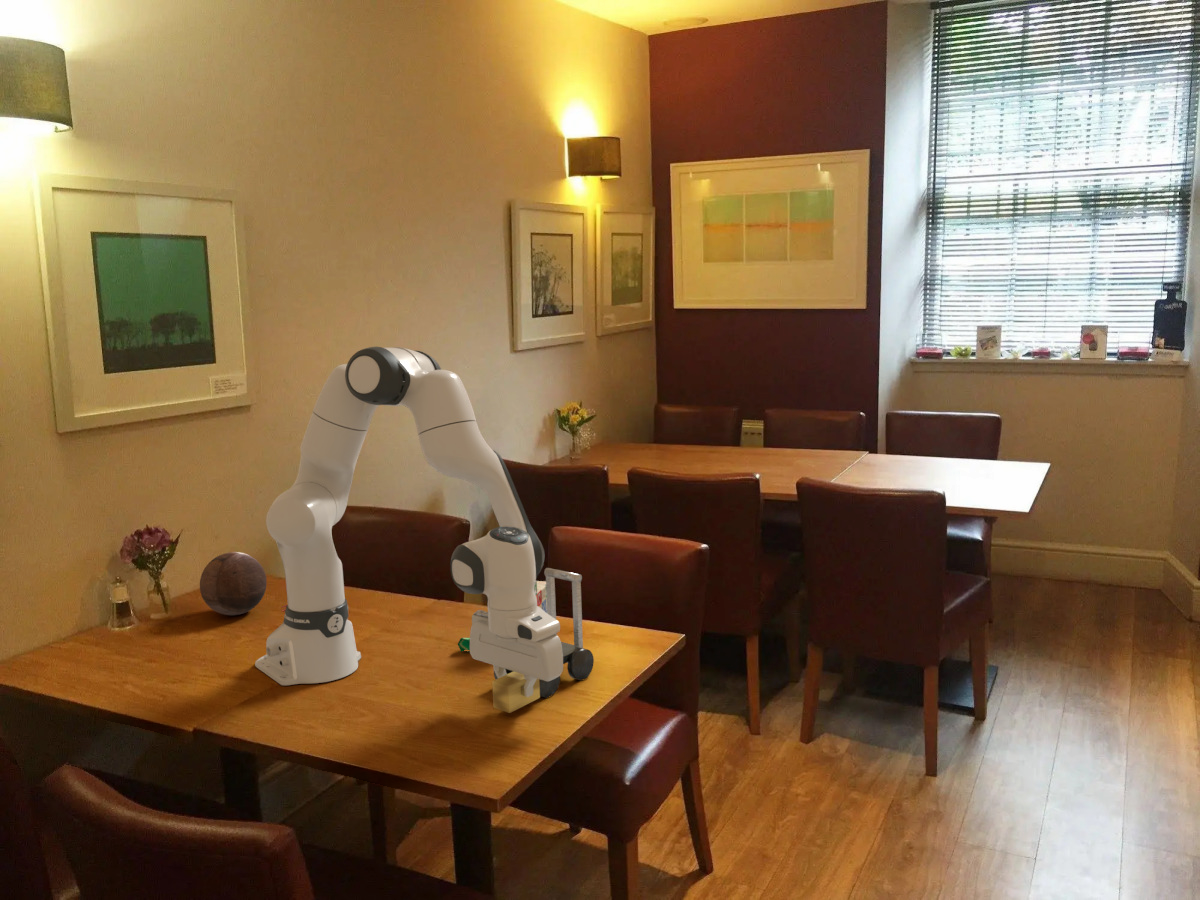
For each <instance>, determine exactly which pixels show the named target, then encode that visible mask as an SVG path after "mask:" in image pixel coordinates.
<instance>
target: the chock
mask: <svg viewBox="0 0 1200 900" xmlns="http://www.w3.org/2000/svg"><path fill="white" fill-rule="evenodd" d="M526 681H527V680H525V679H524V674H521V673H518V672H515V671H513V672H511V673H509V674H507V675H505V676H502V677H500V678H498V679H496V680H495V679H494V680H492V681H491V686H492V701H493V703H492V704H493V705H492V706H493V708H494V709H496V710H499V711H502V712H505V713H508V714H511V713H512V712H513V713H514V712H515V711H517V710H519V709H521V708H523V707H525V706H527V705H528V704H530V703H533V702H534V701H536V700H538V699H540V698H541V696H540V685H539V679H538V678H537V680H536V682H535V684H534V685H533V695H531V696H529V697H526V696H523V695H521V686H523V685H525V683H526Z"/></svg>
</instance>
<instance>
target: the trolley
mask: <svg viewBox="0 0 1200 900" xmlns="http://www.w3.org/2000/svg"><path fill="white" fill-rule="evenodd" d="M543 574H544V576H545V581H546V594H547V614H549V615H550V616H552V617H553V618H555V619H556V620H557V612H556V609H557V608H556V587H555V586H556V585H555V584H556V583H555V579H560V580H564V581H568V582H571V590H572V592H571V595H572V621H573V644H571V643H568V642H564V641H561V645H562V653H563V665H565V664H567V673H568V675H569V676H570V677H571V678H572V679H574V680H578V681H584V680H586V679H587V678H588V677H589V676H590V674H591V673H592V671H593V667H594V662H595V659H594V655H593V652H592V651H591V650H590V649H587V648H584V641H583V639H584V638H583V614H582V613H583V610H582V606H583V605H582V586H581V585H582V584H581V582H582V580H583V576H582V574H579V573H574V572H569V571H565V570H561V569H554V568H551V567H546V568H545V569H544V572H543ZM556 635H557V636H558V632H557V633H556ZM505 670H506V673H507V674H509V673H511V672H513V671H512V670H508V669H505ZM493 677H494V680H496V679H498V678H497V676H496V674H495V672H494V671H493ZM583 679H584V680H583ZM560 681H561V675H560V676H559V677H557V678H555V679H553V680H551V681H544V680H541V679H539V685H540V698H541V697H542V698H547V697H548V698H550V697H549V696H551V695H552V696H553V695H554V694H555V693H556V692H557V690H558V689H559V686H560ZM552 696H551V697H552ZM548 698H547V699H548Z"/></svg>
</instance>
